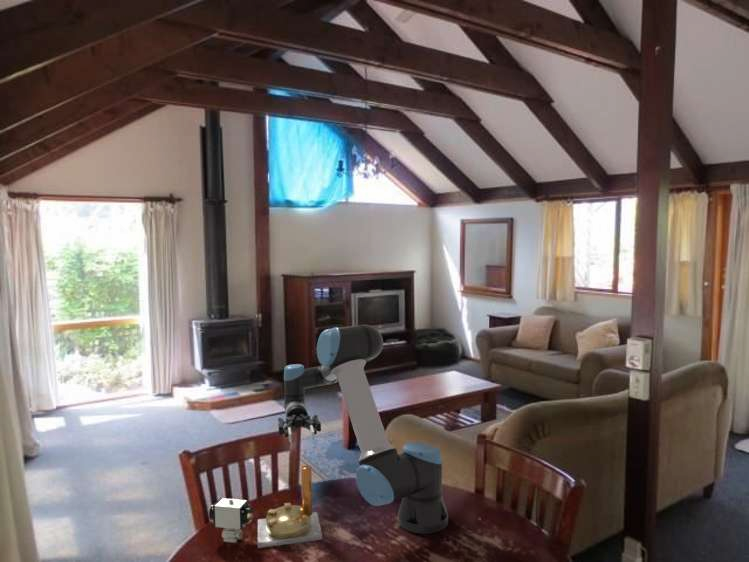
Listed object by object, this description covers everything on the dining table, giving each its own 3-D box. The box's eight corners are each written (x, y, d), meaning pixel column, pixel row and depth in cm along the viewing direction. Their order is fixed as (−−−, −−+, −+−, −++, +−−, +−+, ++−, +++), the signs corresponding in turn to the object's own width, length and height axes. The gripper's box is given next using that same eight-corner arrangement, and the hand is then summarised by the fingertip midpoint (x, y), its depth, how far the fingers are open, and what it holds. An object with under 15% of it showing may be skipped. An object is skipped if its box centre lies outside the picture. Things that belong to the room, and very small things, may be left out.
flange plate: (317, 516, 161) (317, 512, 161) (322, 539, 149) (322, 534, 149) (257, 524, 157) (257, 519, 157) (257, 548, 145) (257, 542, 145)
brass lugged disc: (310, 512, 161) (309, 458, 160) (315, 534, 148) (313, 476, 147) (266, 517, 158) (264, 463, 157) (266, 541, 145) (264, 481, 144)
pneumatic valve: (247, 546, 146) (246, 504, 145) (209, 542, 148) (207, 501, 147) (256, 535, 151) (254, 495, 150) (219, 532, 153) (217, 492, 153)
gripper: (324, 422, 188) (332, 445, 166) (269, 427, 184) (270, 452, 161) (323, 402, 188) (332, 422, 165) (268, 406, 183) (270, 428, 161)
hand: (301, 437), depth 163 cm, fingers open, 6 cm apart
